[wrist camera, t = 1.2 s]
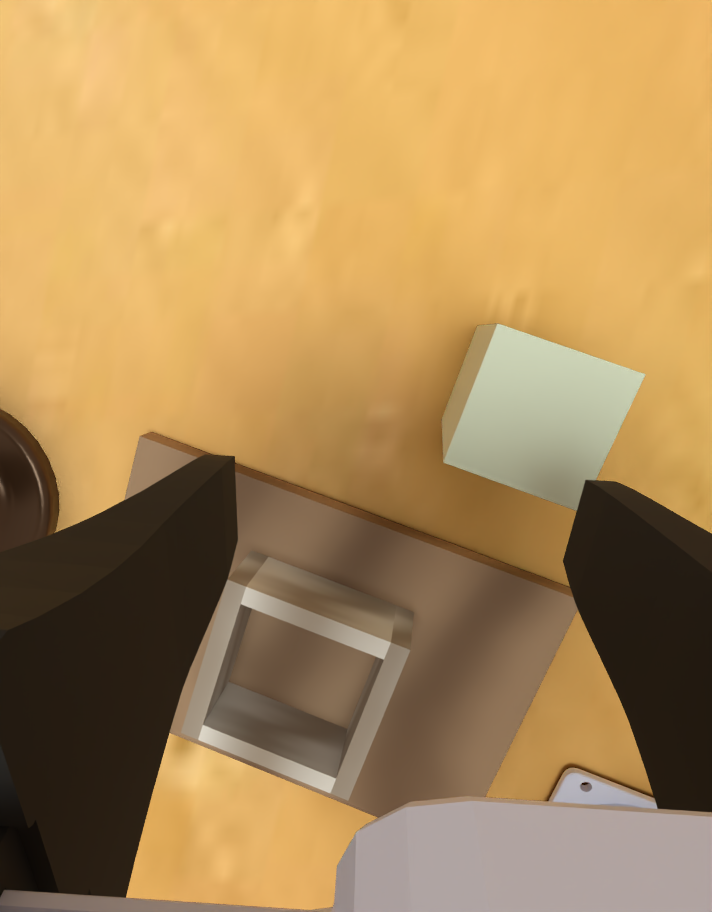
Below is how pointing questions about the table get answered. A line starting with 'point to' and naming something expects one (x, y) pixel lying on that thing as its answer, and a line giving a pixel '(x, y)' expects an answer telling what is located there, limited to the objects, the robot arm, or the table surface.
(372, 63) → the table surface
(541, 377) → the rectangular block
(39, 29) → the table surface
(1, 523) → the candlestick
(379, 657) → the brown socket board
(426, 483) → the table surface
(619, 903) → the robot arm
